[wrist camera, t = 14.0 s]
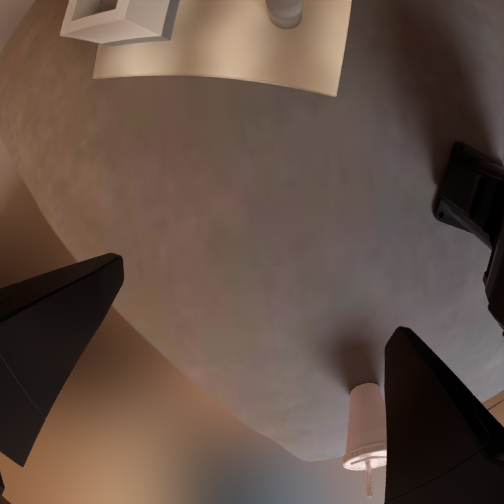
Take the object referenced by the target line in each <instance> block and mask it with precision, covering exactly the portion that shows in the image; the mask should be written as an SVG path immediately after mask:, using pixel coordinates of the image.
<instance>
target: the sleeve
mask: <svg viewBox="0 0 504 504" xmlns="http://www.w3.org/2000/svg"><path fill="white" fill-rule="evenodd" d="M179 2H180V0H118V2H117V6H116V9H114V10H109V11H105V12H102V11H101V10H100V8H99V3H100V0H69V3H68V7H67V10H66V13H65V17H64V21H63V24H62V28H61V33H60V36H64V37H70V38H76V39H81V40H86V41H91V42H96V43H100V44H105V45H109V46H119V45H126V44H134V43H144V42H156V41H170V40H171V35H172V31H173V26H174V22H175V18H176V14H177V10H178V6H179Z"/></svg>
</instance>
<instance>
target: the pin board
mask: <svg viewBox="0 0 504 504" xmlns="http://www.w3.org/2000/svg"><path fill="white" fill-rule="evenodd" d="M117 2H118V0H100V3H99V8H100V10H101V11H102V12H105V11H109V10H114V9H116V6H117ZM351 2H352V0H180V2H179V6H178V10H177V14H176V18H175V22H174V26H173V31H172V35H171V40H170V41H156V42H144V43H134V44H126V45H119V46H109V45H105V44H100V43H99V45H98V50H97V55H96V61H95V67H94V73H93V79H105V78H115V77H129V76H151V75H182V76H205V77H219V78H230V79H240V80H248V81H256V82H262V83H269V84H275V85H281V86H286V87H292V88H297V89H301V90H306V91H311V92H315V93H319V94H323V95H327V96H331V97H335V96H336V94H337V89H338V83H339V78H340V72H341V67H342V61H343V55H344V49H345V43H346V37H347V31H348V24H349V17H350V10H351Z"/></svg>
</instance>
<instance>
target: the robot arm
mask: <svg viewBox="0 0 504 504" xmlns="http://www.w3.org/2000/svg"><path fill="white" fill-rule="evenodd" d="M459 146H460V147H461V149H460V151H459V149H458V147H459ZM440 212H441V215H440V216H438V215H439V213H440ZM434 217H435V218H436V219H437V220H438V221H440V222H443V223H446V224H449V225H452V226H454V227H457V228H460V229H462V230H465V231H468V232H470V233H473V234H474V235H475V236H476V237H478V238H479V239H480V240H481V241H482V242H483V243H484V244H485V245H487V246H488V247H489V248H490V249H491V250H492V252H491V256H490V260H489V264H488V267H487V271H486V272H485V273H484V276H483V282H484V284H485V287H486V288H485V292H486V296H487V299H488V301H489V304H488V310H489V312H490V313H491V314H492V316H493V317H494V319H495V320H496V321H497V322H498V323H499V325H500V326H501V327H502V328H503V329H504V167H503V166H502V165H500V164H499V163H497V162H495V161H494V160H492V159H491V158H489V157H487V156H486V155H484V154H482V153H481V152H479V151H477V150H475V149H474V148H472V147H470V146H468V145H466V144H464V143H463V142H459V141H457V142H455V143H454V146H453V150H452V154H451V158H450V162H449V164H448V166H447V169H446V173H445V176H444V180H443V183H442V186H441V190H440V196H439V199H438V202H437V205H436V208H435V211H434ZM123 281H124V268H123V258H122V257H121V256H120V255H117V254H114V253H108V254H105V255H101V256H98V257H95V258H91V259H88V260H85V261H82V262H78V263H75V264H72V265H69V266H66V267H62V268H60V269H56V270H53V271H50V272H47V273H44V274H41V275H38V276H35V277H32V278H30V279H26V280H23V281H21V282H20V283H19V282H17V283H14V284H11V285H9V286H6V287H3V288H0V452H2V453H3V454H4V455H6V456H7V457H9V458H10V459H11V460H12V461H14V462H15V463H17V464H18V465H20V466H21V467H23V466H24V465H25V463H26V460H27V457H28V456H29V453H30V451H31V449H32V446H33V444H34V442H35V440H36V438H37V436H38V434H39V432H40V429H41V427H42V426H43V424H44V422H45V418H46V417H47V415H48V413H49V411H50V410H51V408H52V406H53V404H54V402H55V400H56V398H57V396H58V394H59V393H60V391H61V389H62V387H63V385H64V384H65V382H66V380H67V378H68V377H69V375H70V373H71V371H72V370H73V368H74V366H75V365H76V363H77V361H78V360H79V358H80V356H81V355H82V353H83V351H84V350H85V348H86V347H87V345H88V343H89V342H90V340H91V339H92V337H93V336H94V334H95V332H96V331H97V329H98V328H99V326H100V325H101V323H102V321H103V320H104V318H105V316H106V314H107V312H108V311H109V308H110V306H111V305H112V303H113V301H114V299H115V297H116V295H117V293H118V292H119V290H120V288H121V286H122V284H123ZM502 335H503V336H504V331H503V333H502ZM384 391H385V409H386V437H387V460H386V487H385V502H384V504H504V427H503V426H502V425H501V424H500V423H499V422H498V421H497V420H496V419H495V418H494V417H493V415H491V413H489V411H488V410H487V409H486V408H485V407H484V406H483V405H482V404H481V402H480V401H479V400H478V399H477V398H476V397H475V396H474V395H473V394H472V392H471V391H470V390H469V389H468V388H467V387H466V386H465V385H464V384H463V382H462V381H461V380H460V379H459V378H458V377H457V376H456V375H455V374H454V373H453V372H452V371H451V370H450V368H449V367H448V366H447V365H446V364H445V363H444V362H443V361H442V360H441V359H440V358H439V357H438V356H437V355H436V354H435V353H434V352H433V351H432V350H431V349H430V348H429V347H428V346H427V345H426V344H425V343H424V342H423V341H422V340H421V339H420V338H419V337H418V336H417V335H416V334H415V333H414V332H413V331H412V330H411V329H410V328H408V327H402V326H399V327H398V328H397V329H396V330H395V331H394V333H393V335H392V336H391V338H390V339H389V341H388V342H387V344H386V346H385V381H384ZM4 488H5V487H4V484H3V480H2V477H1V473H0V504H11V503H10V502H8V501H7V500H6V499H5V498H4V497H3V496H2V493H3V491H4Z"/></svg>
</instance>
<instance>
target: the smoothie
mask: <svg viewBox="0 0 504 504" xmlns="http://www.w3.org/2000/svg"><path fill="white" fill-rule="evenodd" d="M386 460H387V437H386V409H385V402H384V399H383V396H382V394H381V391H380V388H379V386H378V385H377V384H375V383H365V384H361V385H358V386H356V387H355V388H353V389H352V390H351V392H350V406H349V422H348V435H347V446H346V454H345V455H344V456H343V466H344V468H346V469H349V470H366V487H367V498H370V497H372V476H371V469H372V468H377V467H380V466H383V465H386Z"/></svg>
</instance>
